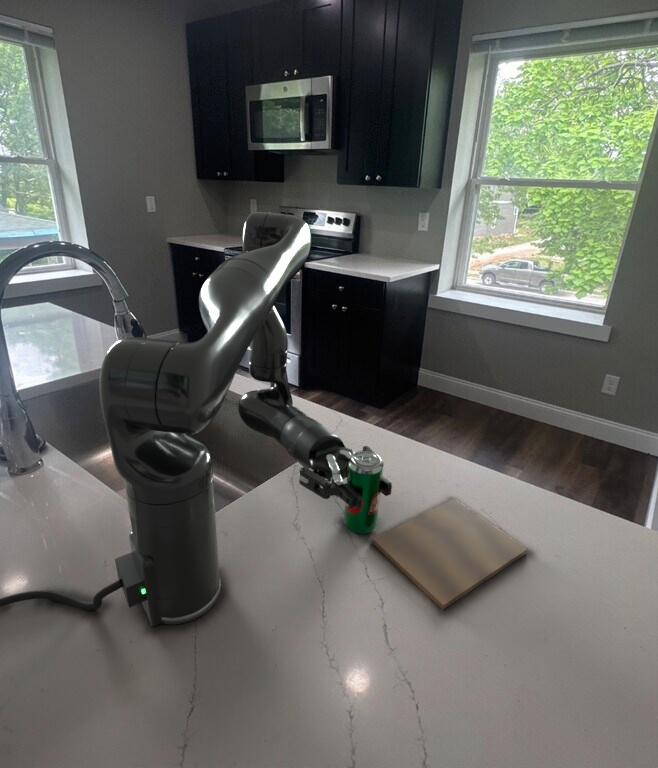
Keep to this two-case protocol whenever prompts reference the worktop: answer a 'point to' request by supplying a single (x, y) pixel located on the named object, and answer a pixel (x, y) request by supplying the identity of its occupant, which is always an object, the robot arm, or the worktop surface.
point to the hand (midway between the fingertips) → (374, 496)
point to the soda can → (364, 491)
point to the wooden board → (448, 551)
